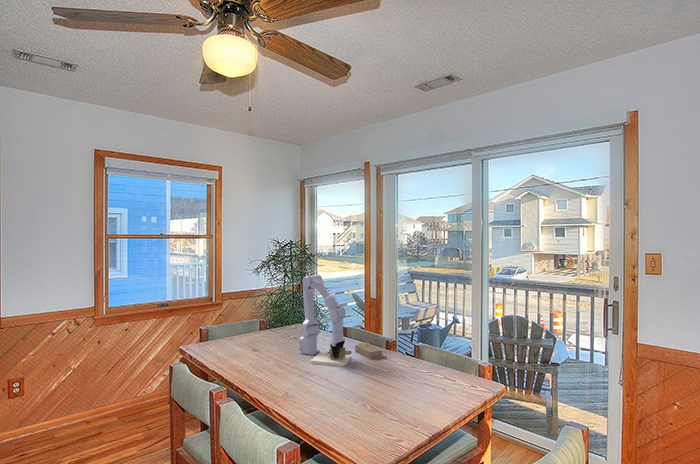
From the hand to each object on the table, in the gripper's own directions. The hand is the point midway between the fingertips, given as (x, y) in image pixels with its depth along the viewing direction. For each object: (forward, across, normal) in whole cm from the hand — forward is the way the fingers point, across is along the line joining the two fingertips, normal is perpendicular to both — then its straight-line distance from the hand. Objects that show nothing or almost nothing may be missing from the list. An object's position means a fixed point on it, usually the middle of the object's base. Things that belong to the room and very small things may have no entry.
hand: (337, 356), depth 197 cm
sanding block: (+1, 0, 0) cm, 1 cm away
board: (+3, 0, +4) cm, 4 cm away
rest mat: (+3, +13, +4) cm, 14 cm away
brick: (+3, +16, -13) cm, 21 cm away
